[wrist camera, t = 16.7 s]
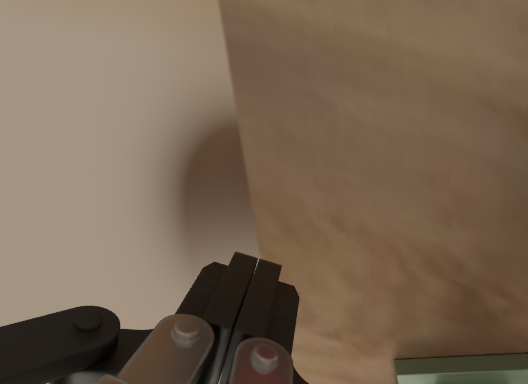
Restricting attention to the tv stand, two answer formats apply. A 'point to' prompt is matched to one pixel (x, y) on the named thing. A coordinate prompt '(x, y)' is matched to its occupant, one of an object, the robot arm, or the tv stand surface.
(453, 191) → the tv stand surface
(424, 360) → the switch bracket
